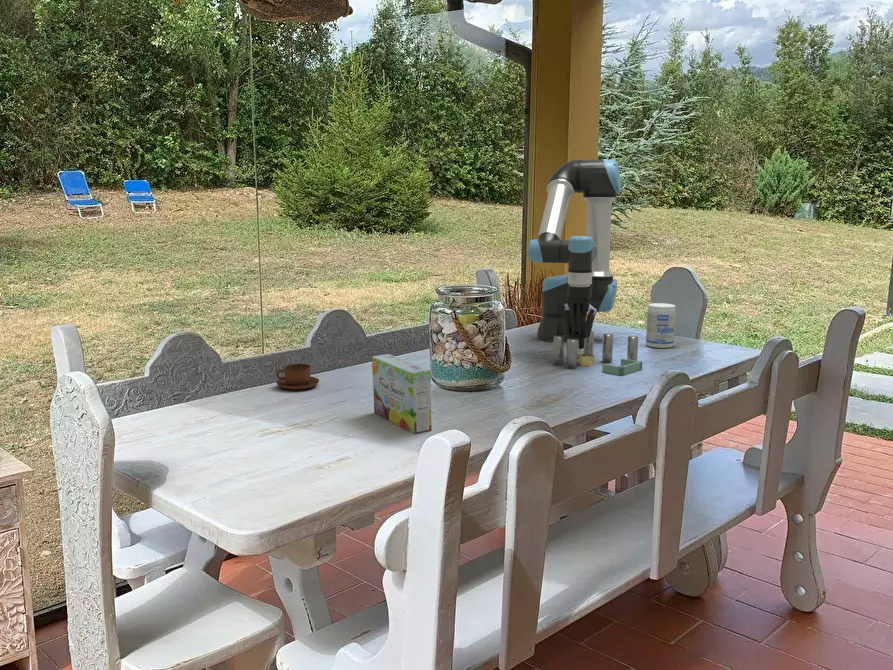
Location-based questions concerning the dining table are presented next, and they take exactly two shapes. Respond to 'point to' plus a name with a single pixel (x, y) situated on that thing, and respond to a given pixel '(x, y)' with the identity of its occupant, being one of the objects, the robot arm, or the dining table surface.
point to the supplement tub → (660, 325)
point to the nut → (586, 359)
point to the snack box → (402, 393)
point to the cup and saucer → (296, 377)
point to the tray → (623, 367)
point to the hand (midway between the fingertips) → (577, 358)
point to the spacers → (590, 349)
